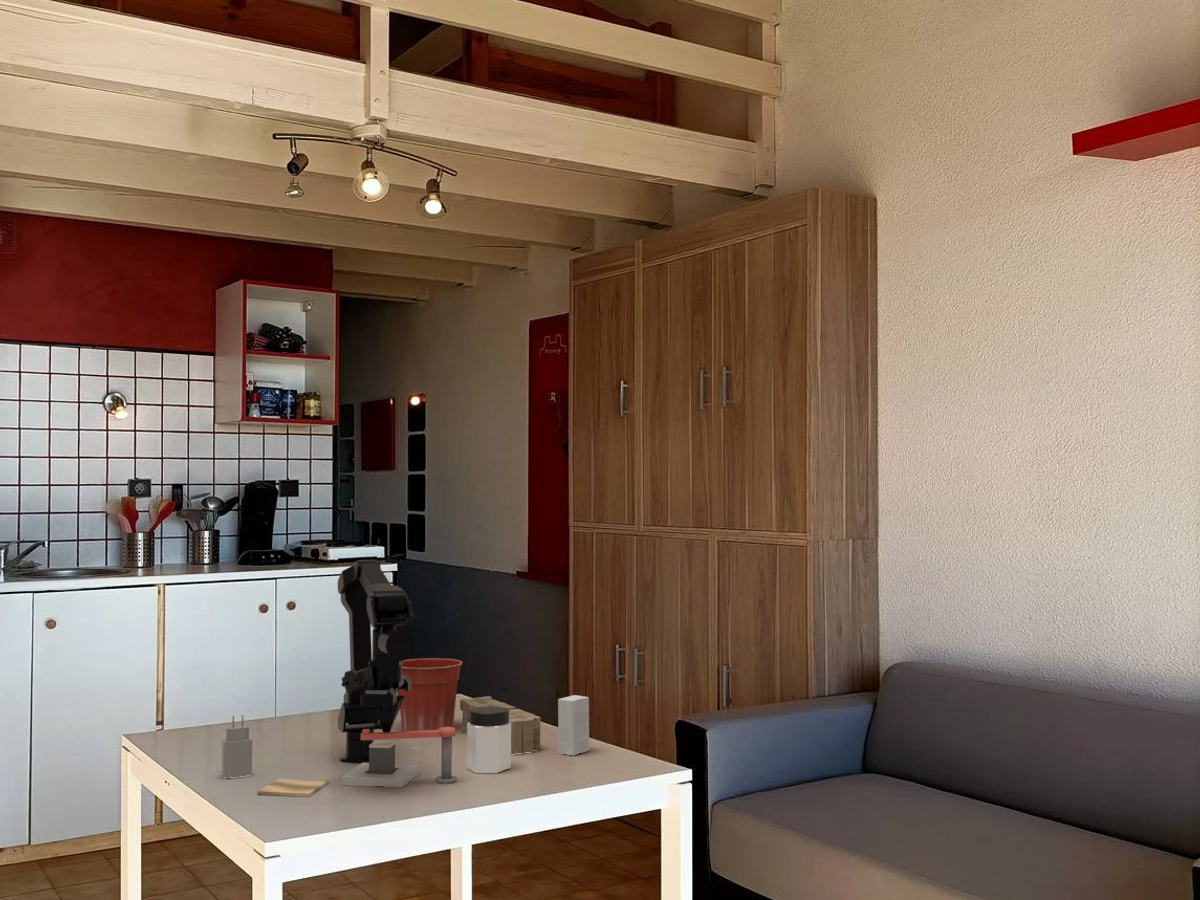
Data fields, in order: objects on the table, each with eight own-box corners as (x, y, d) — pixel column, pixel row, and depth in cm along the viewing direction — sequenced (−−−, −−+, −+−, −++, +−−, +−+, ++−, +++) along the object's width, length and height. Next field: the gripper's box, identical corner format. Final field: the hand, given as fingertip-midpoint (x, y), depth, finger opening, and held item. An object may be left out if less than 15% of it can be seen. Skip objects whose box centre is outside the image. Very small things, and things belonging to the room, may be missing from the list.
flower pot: (377, 732, 268) (378, 663, 268) (425, 721, 281) (426, 656, 282) (428, 740, 258) (429, 669, 259) (476, 729, 272) (476, 661, 272)
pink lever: (454, 733, 223) (454, 724, 223) (455, 736, 220) (456, 727, 220) (360, 737, 219) (360, 728, 219) (360, 741, 216) (361, 731, 216)
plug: (375, 776, 225) (375, 740, 225) (394, 777, 224) (395, 741, 225) (368, 781, 221) (369, 744, 221) (388, 781, 220) (389, 745, 221)
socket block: (362, 770, 229) (363, 727, 230) (463, 774, 227) (464, 730, 227) (341, 785, 217) (342, 740, 218) (448, 789, 215) (449, 743, 215)
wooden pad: (279, 781, 220) (279, 778, 220) (328, 783, 219) (328, 780, 219) (257, 794, 210) (257, 791, 210) (309, 796, 209) (309, 793, 209)
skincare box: (574, 749, 250) (574, 694, 250) (589, 752, 247) (589, 696, 248) (557, 754, 245) (557, 698, 246) (572, 757, 242) (573, 700, 243)
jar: (512, 764, 235) (512, 706, 236) (508, 774, 227) (509, 713, 228) (469, 764, 235) (469, 706, 236) (464, 773, 227) (464, 713, 228)
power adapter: (220, 776, 224) (222, 715, 225) (248, 773, 227) (249, 712, 227) (224, 779, 221) (225, 717, 222) (252, 776, 224) (253, 715, 225)
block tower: (543, 757, 247) (489, 728, 273) (544, 718, 247) (490, 693, 273) (510, 761, 243) (459, 731, 269) (511, 721, 243) (460, 696, 269)
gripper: (357, 647, 231) (357, 724, 230) (333, 661, 212) (332, 745, 211) (412, 647, 230) (411, 725, 230) (392, 661, 212) (392, 745, 211)
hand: (386, 734), depth 220 cm, fingers closed
